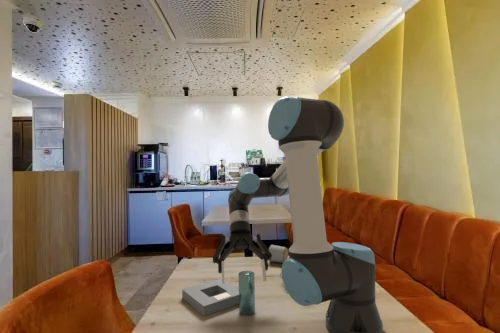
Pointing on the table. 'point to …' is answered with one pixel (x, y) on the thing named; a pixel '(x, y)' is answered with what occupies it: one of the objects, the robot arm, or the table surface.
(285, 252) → the ceramic mug
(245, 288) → the teal cylinder
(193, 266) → the table surface
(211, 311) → the socket block
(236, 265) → the table surface
